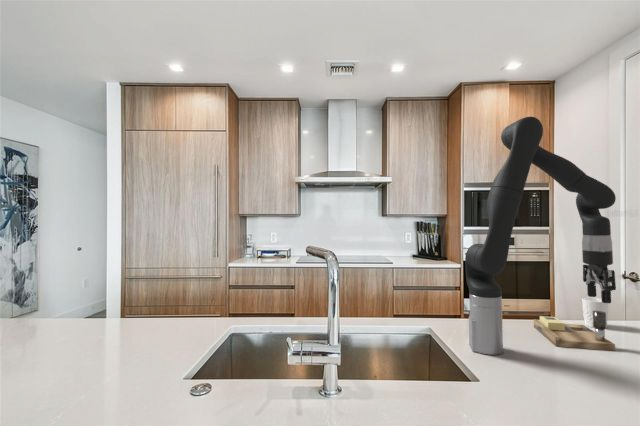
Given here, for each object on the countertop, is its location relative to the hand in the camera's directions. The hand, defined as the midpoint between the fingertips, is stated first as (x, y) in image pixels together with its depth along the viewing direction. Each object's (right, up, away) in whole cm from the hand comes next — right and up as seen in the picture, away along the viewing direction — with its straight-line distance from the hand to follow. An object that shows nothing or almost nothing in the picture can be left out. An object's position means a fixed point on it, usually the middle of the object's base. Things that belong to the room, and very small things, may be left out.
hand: (598, 299), depth 108 cm
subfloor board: (-3, -15, +8) cm, 17 cm away
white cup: (+16, -15, +20) cm, 30 cm away
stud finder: (-6, -13, +13) cm, 19 cm away
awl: (0, -13, 0) cm, 13 cm away
